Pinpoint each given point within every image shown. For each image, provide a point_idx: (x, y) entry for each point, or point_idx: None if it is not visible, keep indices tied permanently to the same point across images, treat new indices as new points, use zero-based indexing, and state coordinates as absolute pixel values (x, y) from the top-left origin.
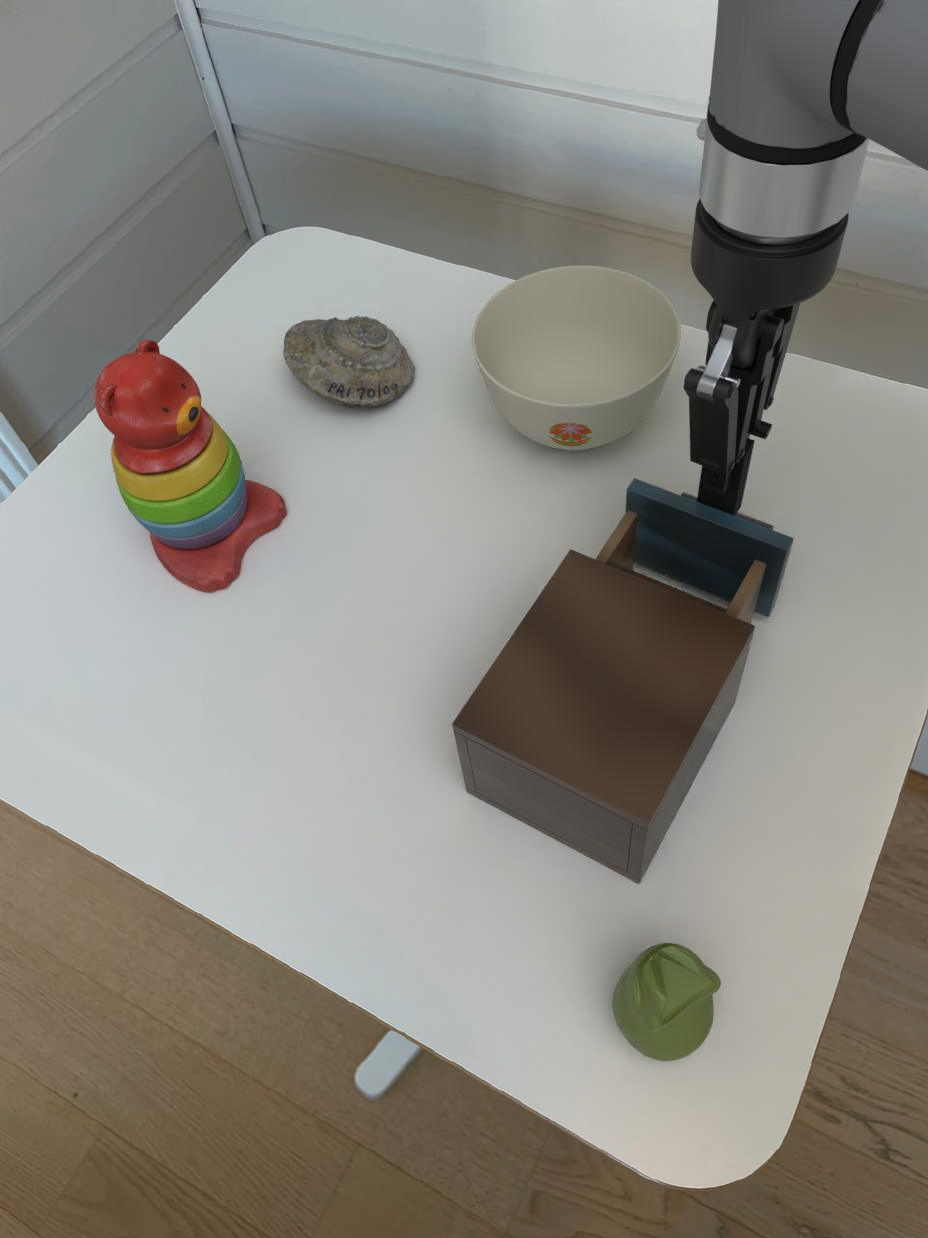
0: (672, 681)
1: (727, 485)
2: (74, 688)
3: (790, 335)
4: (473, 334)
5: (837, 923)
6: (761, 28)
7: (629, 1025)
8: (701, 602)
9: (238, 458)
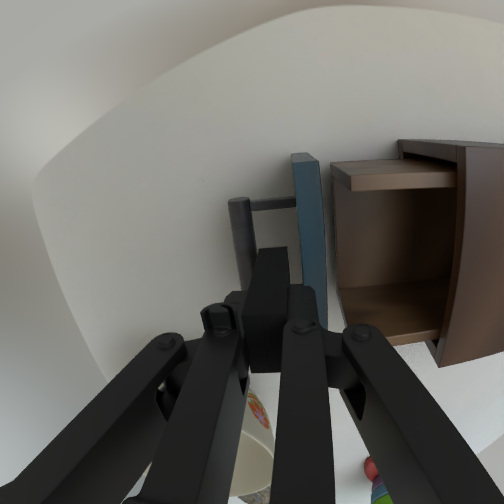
0: None
1: (299, 291)
2: (487, 435)
3: (69, 428)
4: (239, 495)
5: (484, 23)
6: None
7: None
8: (339, 216)
9: (387, 497)
